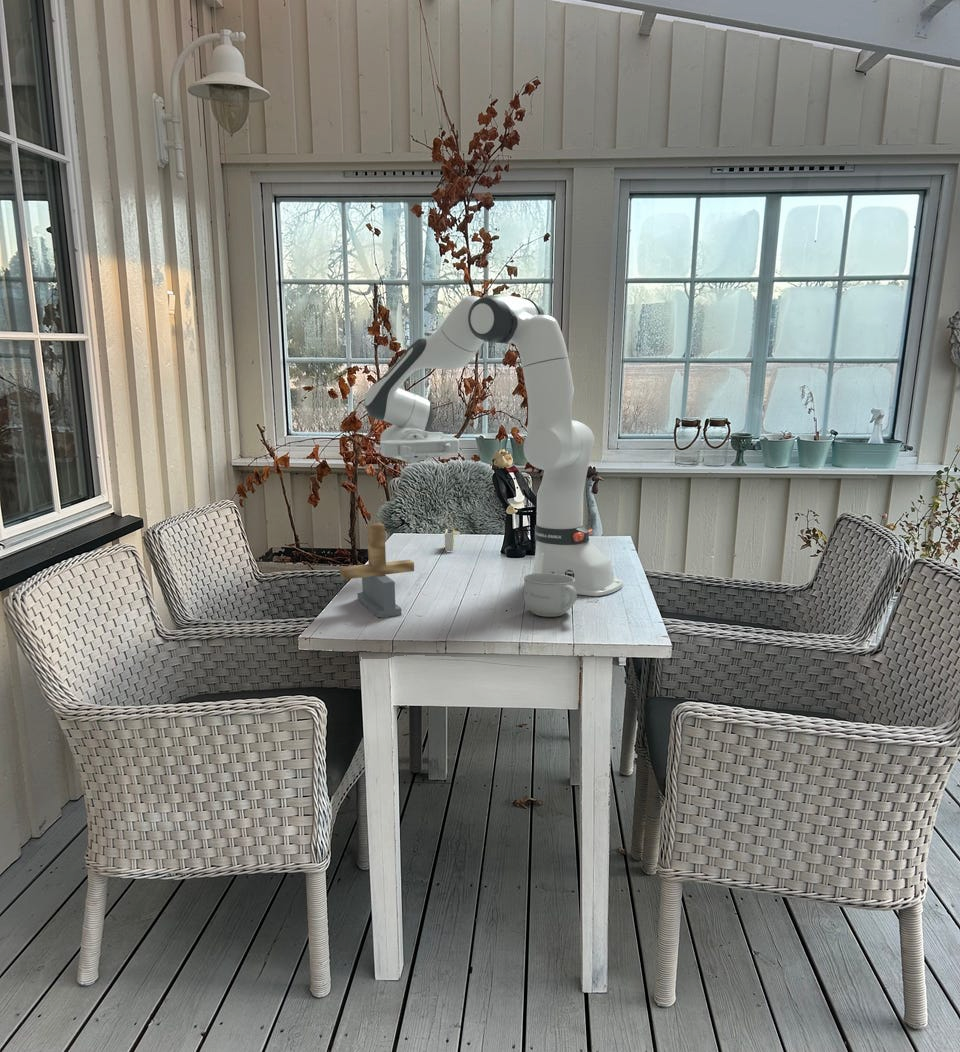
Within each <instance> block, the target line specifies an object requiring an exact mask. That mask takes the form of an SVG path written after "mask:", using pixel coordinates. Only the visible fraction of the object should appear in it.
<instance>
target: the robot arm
mask: <svg viewBox="0 0 960 1052" xmlns="http://www.w3.org/2000/svg"><path fill="white" fill-rule="evenodd" d="M484 342H487V343H493V344H494V343H495V344H513V345H514V346H515V347H516V348H517V350H518V353H519V357H520V363H521V368H522V373H523V374H522V375H523V379H524V385H525V391H526V397H527V408H528V409H527V433H526V437H525V439H524V442H523V454H524V457H525V459H526V460H527V462H528V463H529V465H531V466H532V467H534V468H535V469H539V470H542V471H543V475H542V478H541V482H540V485H539V487H538V489H537V494H536V524H535V525H534V542H535V544H534V545H535V554H534V562H533V567H532V571H531V574H535V573H555V574H562V575H567V576H571V577H573V578H574V579H575V583H574V588H575V590H576V593H577V595H579V596H580V595H581V596H591V597H599V596H600V597H601V596H605V595H610V594H613V593H614V592H616V591H618V590H621V588H622V587H623V586H624V582H623V580H622V579H620V578H616V577H614V567H613V563H612V560H611V559H610V558H609V557H608V556H606V555H605V554H604V553H603V552H602V551H600V549H599V548H598V547H596V546H595V545H594V544H593V543H592V542H591V541H590V535H592V534H593V532H592V531H593V529H592V528H590V529H587V528H586V527H585V525H584V524H583V521H584V517H583V516H584V492H585V486H586V480H587V474H588V470H589V464H590V458H591V456H592V455H591V454H592V452H593V450H594V448H595V444H596V443H595V435H594V433H593V431H592V429H591V428H590V427H589V426H587V425H586V424H585V423H583V422H580V421H578V420H574V419H573V418H572V411H573V410H572V409H573V398H574V396H575V395H574V394H575V387H574V381H573V374H572V371H571V364H570V359H569V353H568V349H567V344H566V342H565V337H564V336H563V333H562V330H561V327H560V325H559V323H558V320H557V319H556V318H554V317H553V316H551V315H548V314H545V313H544V310H543V308H542V307H541V305H540V304H539V303H538V302H536V301H535V300H532V299H531V298H527V297H520V296H514V295H510V294H500V295H499V294H498V295H494V294H490V295H489V294H488V295H485V296H482V297H479V296H476V295H468V296H464V297H463V298H462V299H461V300H460V301H459V302H458V303H457V305H456V306H455V307H453V309H452V310H451V311H450V313H449V314H448V315H447V316H446V318H445V319H444V321H443V322H442V324H441V325H440V327H439V328H438V329H437V330H436V331H435V332H434V333H432V334H430V335H429V336H427V337H424V338H418V339H416V340H414V342H412V344H411V345H410V346H409V347H408V348H407V349H406V350H405V351H404V352H403V353H402V354H401V355H400V356H399V357H398V359H397V360H396V361H395V362H394V363H393V364H392V366H390V368H388V370H387V371H385V373H384V374H383V375H382V376H381V377H380V378H379V379H378V380H376V381H375V382H374V383H373V384H372V385H370V387H369V389H368V390H367V392H366V395H365V397H364V400H363V401H364V402H363V405H364V407H365V410H366V412H367V414H368V415H369V417H370V418H371V419H375V420H378V421H381V422H382V421H384V422H386V423H388V424H391V426H389V427H386V428H385V429H384V430H383V431H382V432H381V434H380V438H379V441H380V442H379V445H375V446H374V450H376V451H380V455H381V456H382V457H385V458H393V459H396V460H400V461H403V462H406V463H412V464H414V463H418V462H421V461H424V460H427V459H433V458H441V457H443V456H445V455H455V454H459V453H460V439H459V438H457V437H455V436H451V435H447V434H444V433H443V432H442V431H430V430H431V428H432V426H433V422H434V418H435V416H434V409H433V405H432V403H431V401H430V400H429V399H428V398H425V397H422V396H420V395H418V394H415V393H413V392H411V391H408V390H405V389H403V388H401V386H402V385H403V384H404V382H406V380H407V379H408V378H409V377H410V376H411V375H412V374H413V373H414V372H416V371H419V370H424V369H426V370H427V369H436V370H446V371H453V370H458V369H461V368H464V367H466V366H467V365H469V363H470V362H471V361H472V360H473V359H474V357H475V356H476V355H477V353H478V351H479V349H480V348H481V347H482V345H483V344H484Z"/></svg>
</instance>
